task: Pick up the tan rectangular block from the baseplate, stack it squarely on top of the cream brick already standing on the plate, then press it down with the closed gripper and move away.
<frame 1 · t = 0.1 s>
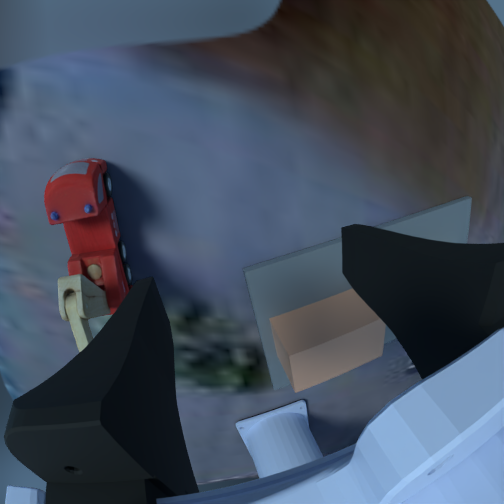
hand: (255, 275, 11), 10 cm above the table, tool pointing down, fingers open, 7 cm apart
tan rectangular block: (317, 322, 26), point 1 cm above the table, touching baseplate
toy fire truck: (104, 255, 20), on the table
baseplate: (380, 292, 28), on the table
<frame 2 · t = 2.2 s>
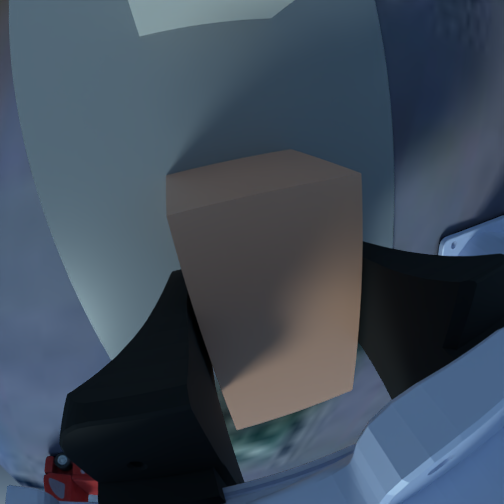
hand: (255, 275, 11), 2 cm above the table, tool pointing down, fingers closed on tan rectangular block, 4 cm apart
tan rectangular block: (248, 261, 12), point 1 cm above the table, touching baseplate, gripper
toy fire truck: (130, 460, 18), on the table
baseplate: (213, 78, 10), on the table
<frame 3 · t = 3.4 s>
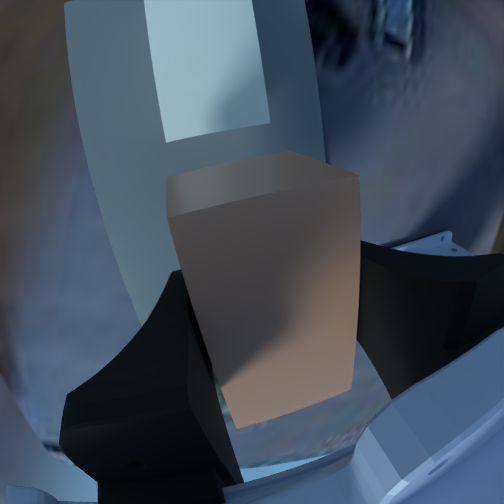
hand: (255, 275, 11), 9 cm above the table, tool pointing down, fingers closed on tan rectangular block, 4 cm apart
tan rectangular block: (247, 262, 12), point 8 cm above the table, touching gripper
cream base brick: (195, 60, 15), point 1 cm above the table, touching baseplate
baseplate: (211, 160, 18), on the table
when the fingers open (7 cm above the table, at t = 4.7 s): tan rectangular block stays where it is, resting on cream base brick.
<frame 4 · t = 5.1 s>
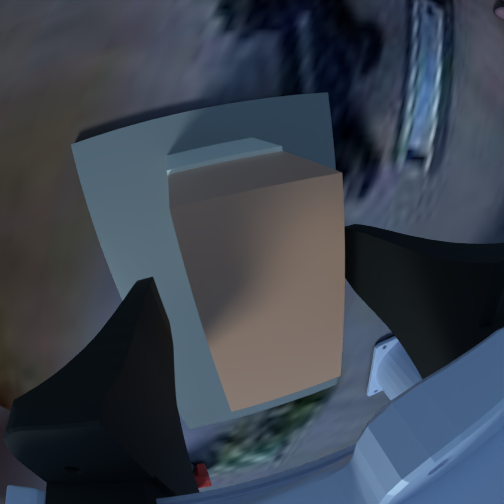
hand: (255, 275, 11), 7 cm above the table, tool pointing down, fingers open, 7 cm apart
tan rectangular block: (243, 254, 13), point 5 cm above the table, touching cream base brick
toy fire truck: (178, 467, 28), on the table
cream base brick: (223, 217, 17), point 1 cm above the table, touching baseplate, tan rectangular block
baseplate: (239, 300, 20), on the table
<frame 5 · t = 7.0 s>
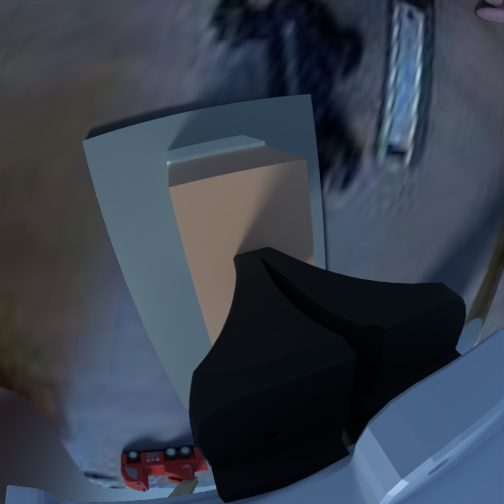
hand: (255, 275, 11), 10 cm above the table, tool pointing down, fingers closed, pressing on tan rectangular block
tan rectangular block: (232, 234, 15), point 5 cm above the table, touching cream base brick, gripper
toy fire truck: (176, 451, 30), on the table
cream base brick: (217, 205, 19), point 1 cm above the table, touching baseplate, tan rectangular block
baseplate: (232, 282, 22), on the table
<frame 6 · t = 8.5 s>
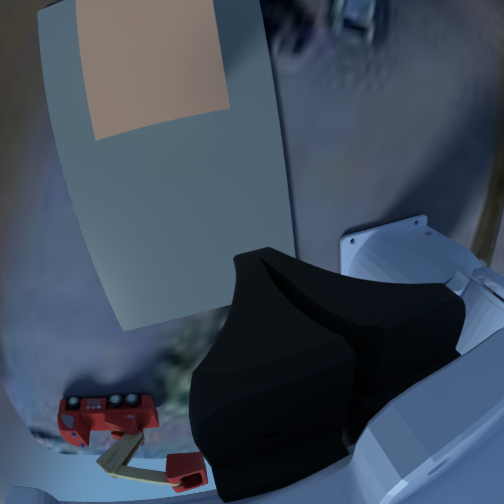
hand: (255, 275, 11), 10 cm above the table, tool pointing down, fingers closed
tan rectangular block: (149, 41, 11), point 5 cm above the table, touching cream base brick
toy fire truck: (123, 401, 26), on the table
baseplate: (170, 147, 18), on the table
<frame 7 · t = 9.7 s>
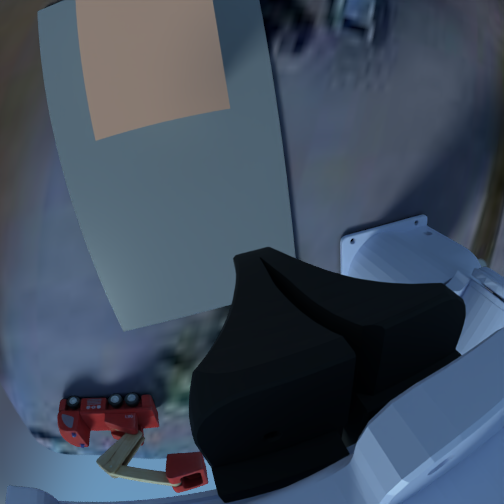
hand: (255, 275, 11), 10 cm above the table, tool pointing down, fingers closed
tan rectangular block: (150, 41, 11), point 5 cm above the table, touching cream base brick
toy fire truck: (123, 401, 26), on the table
baseplate: (170, 147, 18), on the table
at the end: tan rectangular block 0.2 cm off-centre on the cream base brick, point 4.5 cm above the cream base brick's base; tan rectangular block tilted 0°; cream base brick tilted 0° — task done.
